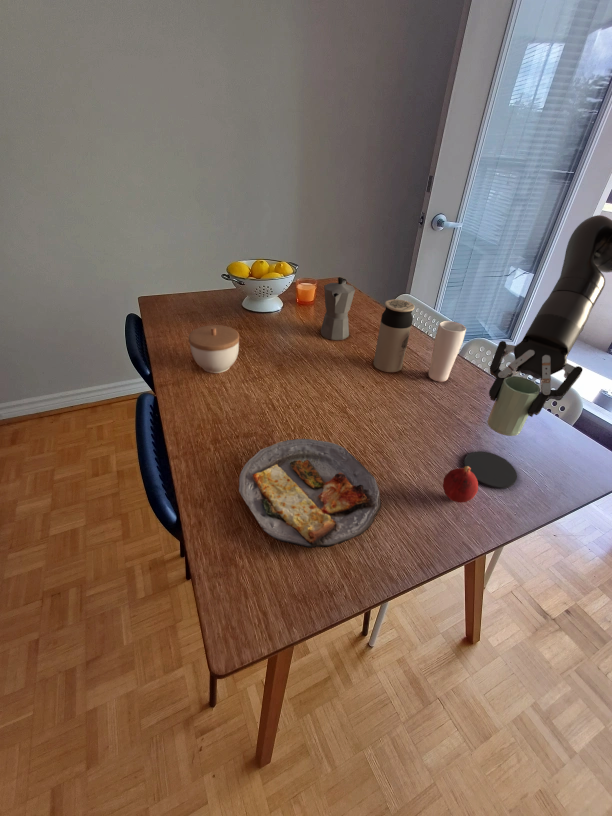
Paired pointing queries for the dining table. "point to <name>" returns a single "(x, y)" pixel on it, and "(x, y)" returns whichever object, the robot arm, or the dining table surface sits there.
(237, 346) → the lidded bowl
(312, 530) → the food plate
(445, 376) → the drinking glass
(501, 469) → the coaster
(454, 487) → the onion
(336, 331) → the coffeepot
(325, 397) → the dining table surface
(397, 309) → the travel mug
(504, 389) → the cup
